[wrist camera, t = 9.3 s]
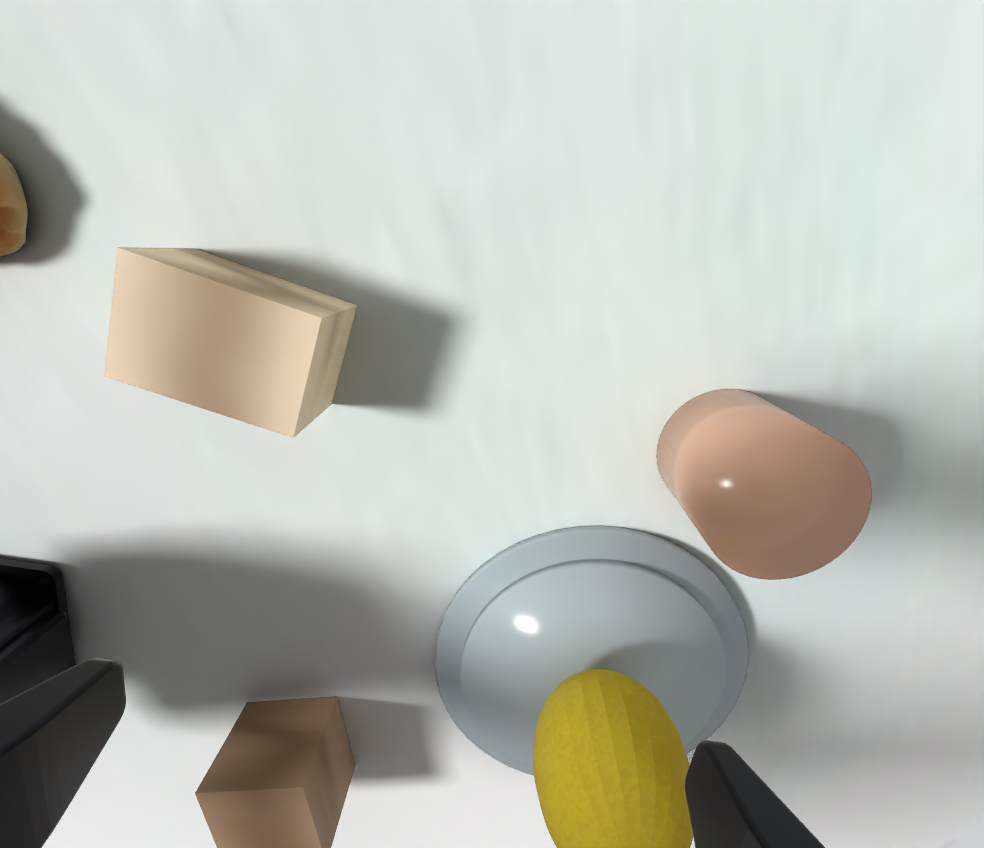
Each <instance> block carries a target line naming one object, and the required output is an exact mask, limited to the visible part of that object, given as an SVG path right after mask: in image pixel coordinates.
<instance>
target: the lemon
mask: <svg viewBox="0 0 984 848" xmlns="http://www.w3.org/2000/svg"><path fill="white" fill-rule="evenodd" d="M533 769H534V778H535V783H536V788H537V793H538V797H539V801H540V805H541V809H542V813H543V816H544V819H545V823H546V825H547V828H548V830H549V833H550V835H551V837H552V839H553V841H554V843H555V845H556V846H557V848H690V846H691V843H692V839H693V832H692V826H691V821H690V816H689V811H688V805H687V800H686V794H685V778H686V774H687V771H688V769H689V762H688V759H687V755H686V752H685V748H684V745H683V742H682V740H681V737H680V735H679V732H678V730H677V728H676V726H675V724H674V723H673V721H672V719H671V718H670V716H669V714H668V713H667V712H666V710H665V709H664V707H663V706H662V704H661V703H660V702H659V700H658V699H657V698H656V697H655V696H654V695H653V693H652V692H650V691H649V690H648V689H647V688H645V687H644V686H643V685H642V684H641V683H639V682H638V681H636V680H635V679H633V678H631V677H629V676H626V675H624V674H622V673H620V672H616V671H611V670H607V669H593V670H587V671H582V672H580V673H577V674H575V675H573V676H570V677H569V678H567V679H566V680H565V681H563V682H562V683H560V684H559V685H558V686H557V687H556V689H555V690H554V691H553V692H552V693H551V694H550V696H549V697H548V699H547V700H546V702H545V704H544V707H543V709H542V711H541V713H540V716H539V718H538V721H537V726H536V732H535V740H534V749H533Z"/></svg>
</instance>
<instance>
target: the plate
mask: <svg viewBox="0 0 984 848" xmlns="http://www.w3.org/2000/svg"><path fill="white" fill-rule="evenodd" d="M748 659H749V658H748V639H747V634H746V629H745V625H744V622H743V619H742V617H741V614H740V612H739V609H738V607H737V606H736V604H735V602H734V601H733V599H732V597H731V595H730V594H729V592H728V591H727V589H726V588H725V586H724V585H723V584H722V582H721V581H720V580H719V579H718V578H717V576H716V575H715V574H714V573H713V571H712V570H710V569H709V568H708V567H707V566H706V565H705V564H704V563H703V562H701V561H700V560H699V559H698V558H697V557H695V556H694V555H692V554H691V553H689V552H688V551H686V550H685V549H683V548H682V547H679V546H677V545H675V544H673V543H671V542H669V541H667V540H665V539H663V538H660V537H657V536H654V535H651V534H648V533H645V532H641V531H636V530H631V529H627V528H620V527H609V526H579V527H572V528H565V529H558V530H554V531H550V532H547V533H543V534H539V535H536V536H533V537H531V538H528V539H526V540H523V541H521V542H518V543H516V544H514V545H512V546H510V547H509V548H507V549H505V550H503V551H501V552H499V553H498V554H496V555H495V556H494V557H492V558H491V559H489V560H488V561H487V562H485V563H484V564H482V565H481V566H480V567H479V568H478V569H477V570H476V571H475V572H474V573H473V574H472V575H471V576H470V577H469V578H468V579H467V580H466V581H465V582H464V584H463V585H462V586H461V587H460V589H459V590H458V591H457V592H456V594H455V596H454V598H453V599H452V601H451V603H450V604H449V606H448V608H447V610H446V613H445V615H444V618H443V620H442V623H441V627H440V632H439V636H438V641H437V647H436V659H435V669H436V679H437V684H438V687H439V691H440V695H441V698H442V700H443V702H444V704H445V707H446V709H447V711H448V713H449V714H450V716H451V717H452V719H453V721H454V722H455V724H456V725H457V726H458V727H459V729H460V730H461V731H462V732H463V733H464V734H465V736H466V737H467V738H468V739H469V740H471V741H472V742H473V743H474V744H475V745H476V746H477V747H478V748H480V749H481V750H482V751H484V752H485V753H487V754H488V755H490V756H491V757H493V758H494V759H496V760H498V761H500V762H502V763H504V764H505V765H507V766H509V767H512V768H514V769H517V770H519V771H522V772H524V773H527V774H531V775H534V769H533V749H534V740H535V732H536V726H537V721H538V718H539V716H540V713H541V711H542V709H543V707H544V704H545V702H546V700H547V699H548V697H549V696H550V694H551V693H552V692H553V691H554V690H555V689H556V687H557V686H558V685H559V684H560V683H562V682H563V681H565V680H566V679H567V678H569V677H570V676H573V675H575V674H577V673H580V672H582V671H587V670H593V669H607V670H611V671H616V672H620V673H622V674H624V675H626V676H629V677H631V678H633V679H635V680H636V681H638V682H639V683H641V684H642V685H643V686H644V687H645V688H647V689H648V690H649V691H650V692H652V693H653V695H654V696H655V697H656V698H657V699H658V700H659V702H660V703H661V704H662V706H663V707H664V709H665V710H666V712H667V713H668V714H669V716H670V718H671V719H672V721H673V723H674V724H675V726H676V728H677V730H678V732H679V735H680V737H681V740H682V742H683V745H684V748H685V752H686V754H687V753H689V752H690V751H692V750H693V749H695V748H696V747H697V745H698V743H700V742H701V741H703V740H706V739H707V738H708V737H709V736H710V735H711V734H713V733H714V731H715V730H716V729H717V728H718V727H719V726H720V725H721V724H722V722H723V721H724V720H725V719H726V717H727V716H728V714H729V713H730V711H731V710H732V708H733V707H734V705H735V703H736V701H737V699H738V697H739V695H740V693H741V690H742V687H743V684H744V681H745V677H746V673H747V666H748Z"/></svg>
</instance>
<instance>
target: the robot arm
mask: <svg viewBox="0 0 984 848" xmlns="http://www.w3.org/2000/svg"><path fill="white" fill-rule="evenodd" d="M125 705H126V695H125V685H124V675H123V667H122V665H121V663H120V662H119V661H116V660H109V659H102V658H91V659H87V660H85V661H83V662H81V663H79V664H77V665H75V662H74V655H73V648H72V640H71V633H70V626H69V618H68V611H67V604H66V596H65V589H64V582H63V576H62V573H61V572H60V570H59V569H58V568H56V567H54V566H51V565H46V564H38V563H31V562H24V561H17V560H10V559H3V558H0V848H42V846H43V845H44V843H45V842H46V840H47V839H48V837H49V836H50V835H51V833H52V832H53V830H54V828H55V827H56V825H57V824H58V822H59V821H60V819H61V817H62V816H63V814H64V813H65V811H66V809H67V808H68V806H69V804H70V803H71V801H72V799H73V798H74V796H75V794H76V793H77V791H78V789H79V788H80V786H81V784H82V783H83V781H84V779H85V778H86V776H87V774H88V773H89V771H90V769H91V768H92V766H93V764H94V763H95V761H96V759H97V758H98V756H99V754H100V753H101V751H102V749H103V748H104V746H105V744H106V743H107V741H108V739H109V738H110V736H111V734H112V733H113V731H114V729H115V728H116V726H117V724H118V723H119V721H120V719H121V717H122V715H123V713H124V709H125ZM685 794H686V800H687V805H688V811H689V816H690V821H691V826H692V832H693V837H694V842H695V847H696V848H825V847H824V846H823V845H822V844H821V843H820V842H819V840H818V839H817V838H816V837H815V836H814V835H813V834H812V833H811V832H810V831H809V830H808V829H807V828H806V827H805V826H804V824H803V823H802V822H801V821H800V820H799V819H798V818H797V817H796V816H795V815H794V814H793V813H792V812H791V811H790V809H789V808H788V807H787V806H786V805H785V804H784V803H783V802H782V801H781V800H780V799H779V798H778V797H777V796H776V794H775V793H774V792H773V791H772V790H771V789H770V788H769V787H768V786H767V785H766V784H765V783H764V782H763V781H762V780H761V778H760V777H759V776H758V775H757V774H756V773H755V772H754V771H753V770H752V769H751V768H750V767H749V766H748V765H747V763H746V762H745V761H744V760H743V759H742V758H741V757H740V756H739V755H738V754H737V753H736V752H735V751H734V750H733V749H732V748H731V747H730V746H729V745H727V744H725V743H722V742H714V741H707V740H703V741H701V742H700V743H698V745H697V747H696V750H695V753H694V755H693V758H692V761H691V763H690V766H689V769H688V771H687V774H686V778H685Z"/></svg>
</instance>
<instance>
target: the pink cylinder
mask: <svg viewBox="0 0 984 848" xmlns="http://www.w3.org/2000/svg"><path fill="white" fill-rule="evenodd" d="M656 457H657V465H658V469H659V472H660V475H661V477H662V479H663V481H664V483H665V484H666V486H667V487H668V488H669V490H670V491H671V493H672V494H673V496H674V497H675V498H676V500H677V501H678V503H679V504H680V506H681V507H682V508H683V510H684V511H685V513H686V514H687V516H688V517H689V518H690V520H691V521H692V523H693V524H694V526H695V527H696V528H697V530H698V531H699V533H700V534H701V536H702V537H703V538H704V540H705V541H706V543H707V544H708V546H709V547H710V548H711V550H712V551H713V552H714V554H715V555H716V556H717V557H718V559H720V560H721V561H722V562H723V563H724V564H725V565H727V566H728V567H730V568H731V569H733V570H735V571H737V572H739V573H741V574H744V575H747V576H749V577H754V578H759V579H768V580H776V579H787V578H793V577H797V576H801V575H804V574H807V573H810V572H813V571H815V570H817V569H819V568H821V567H823V566H825V565H826V564H828V563H830V562H831V561H833V560H834V559H835V558H837V557H838V556H839V555H841V554H842V553H843V552H844V551H845V550H846V549H847V548H848V547H849V546H850V545H851V543H852V542H853V541H854V540H855V539H856V537H857V536H858V534H859V533H860V531H861V530H862V528H863V526H864V524H865V522H866V519H867V516H868V513H869V510H870V505H871V494H872V491H871V482H870V479H869V475H868V472H867V470H866V468H865V466H864V464H863V462H862V461H861V459H860V458H859V457H858V456H857V455H856V454H855V452H854V451H853V450H851V449H850V448H849V447H848V446H846V445H845V444H843V443H842V442H840V441H838V440H836V439H834V438H833V437H831V436H829V435H827V434H825V433H824V432H822V431H820V430H818V429H817V428H815V427H813V426H811V425H809V424H808V423H806V422H804V421H802V420H800V419H799V418H797V417H795V416H793V415H792V414H790V413H788V412H786V411H784V410H783V409H781V408H779V407H777V406H775V405H774V404H772V403H770V402H768V401H766V400H765V399H763V398H761V397H759V396H757V395H756V394H753V393H750V392H748V391H743V390H739V389H720V390H714V391H710V392H707V393H704V394H701V395H699V396H697V397H695V398H693V399H691V400H689V401H688V402H686V403H685V404H684V405H682V406H681V407H680V408H679V409H678V410H677V411H676V412H675V413H674V414H673V415H672V416H671V417H670V419H669V420H668V422H667V423H666V425H665V426H664V428H663V430H662V432H661V435H660V438H659V441H658V445H657V455H656Z"/></svg>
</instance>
